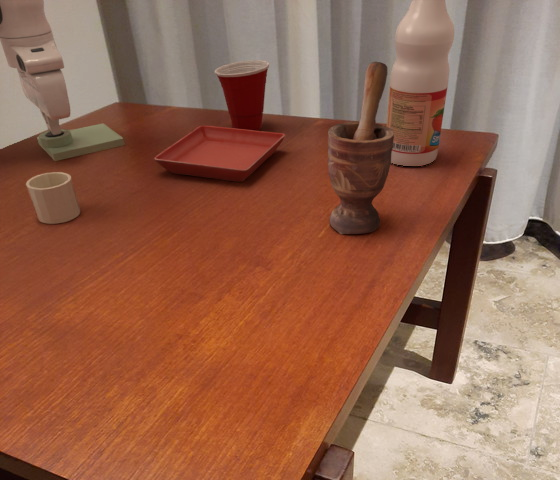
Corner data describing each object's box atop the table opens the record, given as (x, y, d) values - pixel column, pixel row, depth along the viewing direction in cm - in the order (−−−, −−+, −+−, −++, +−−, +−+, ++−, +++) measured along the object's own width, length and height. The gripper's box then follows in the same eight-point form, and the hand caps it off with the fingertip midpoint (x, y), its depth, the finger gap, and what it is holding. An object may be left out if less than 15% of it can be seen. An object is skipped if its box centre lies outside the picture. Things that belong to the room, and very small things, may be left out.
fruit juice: (378, 151, 103) (393, -35, 85) (428, 147, 103) (454, -38, 85) (389, 170, 96) (408, -29, 78) (443, 166, 96) (474, -32, 78)
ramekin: (44, 227, 84) (32, 192, 80) (33, 212, 88) (21, 178, 84) (86, 216, 86) (76, 181, 83) (73, 202, 90) (63, 168, 87)
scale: (52, 162, 105) (47, 145, 103) (36, 144, 112) (31, 129, 110) (125, 145, 110) (121, 129, 108) (104, 129, 118) (101, 115, 116)
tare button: (51, 144, 107) (48, 136, 106) (47, 140, 109) (44, 132, 108) (66, 141, 108) (64, 133, 107) (62, 137, 110) (59, 129, 109)
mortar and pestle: (325, 202, 87) (327, 59, 74) (380, 201, 86) (393, 58, 73) (326, 237, 78) (330, 82, 65) (388, 236, 78) (404, 80, 65)
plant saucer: (247, 188, 92) (246, 168, 90) (154, 176, 97) (151, 157, 95) (287, 151, 105) (286, 133, 102) (202, 142, 110) (200, 124, 108)
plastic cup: (226, 120, 120) (220, 58, 112) (275, 121, 118) (273, 58, 111) (215, 137, 112) (207, 72, 104) (267, 138, 110) (264, 71, 102)
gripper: (0, 45, 104) (25, 122, 113) (27, 65, 91) (53, 150, 100) (34, 40, 106) (56, 116, 116) (65, 58, 93) (87, 142, 102)
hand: (55, 132), depth 108 cm, fingers closed, pressing on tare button
